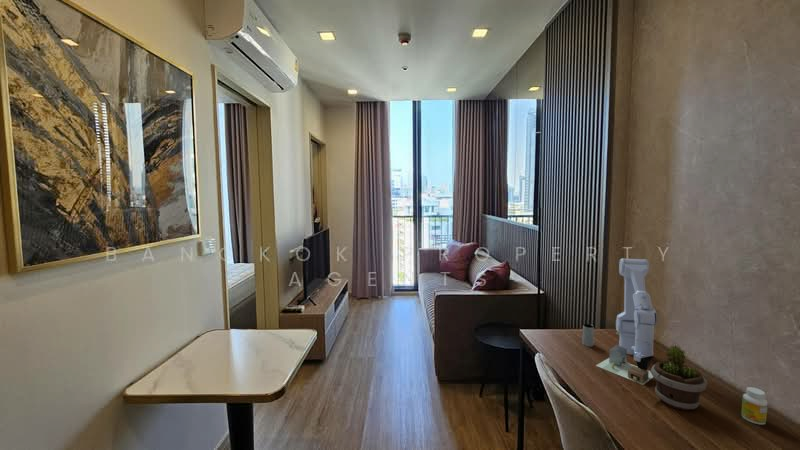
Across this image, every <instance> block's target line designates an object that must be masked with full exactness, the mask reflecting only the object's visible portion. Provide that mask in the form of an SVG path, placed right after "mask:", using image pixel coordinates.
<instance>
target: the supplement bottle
mask: <svg viewBox="0 0 800 450" xmlns="http://www.w3.org/2000/svg"><path fill="white" fill-rule="evenodd" d="M768 406H769V405H768V401H767V400H766V393H765V391H764V390H761V389H760V388H757V387H753V386H752V387H751V386H748V387H746V393H743V394H742V402H741V416H742V418H743V419H744V420H746V421H748V422H751V423H752V424H757V425H766V422H767V414H768Z"/></svg>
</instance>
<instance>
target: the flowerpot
mask: <svg viewBox="0 0 800 450" xmlns="http://www.w3.org/2000/svg"><path fill="white" fill-rule="evenodd" d="M680 347H681V346H680V345H679V344H677V343H676V342H675V343H674V344H672V345H670V346H669V347H668V348H667V353H665V356H666V357H665V361H657V362H656V363H655V364H654V365H652V366H651V369H650V371H651V374H652V376H653V378H654V380H655V384H656V385H655V387H654V390H655V391H654V393H655V394H656V396H657V397H658V398H659V401H661V402H662V403H664V404H665V405H667V406H669V407H670V408H673V409H677V410H681V411H689V410H690V411H694V410H695V409H697V408H698V407H699V405H700V404H701V403H700V402H701V398H700V396H701V394H702V392H703V391H705V390H706V389H707V385H708V381H707V379H706V378H705V377H704V375H702V372H700V371H699V370H697V369H696V367H693V365H692V364H691V365H690V364H687V363H688V361H687V360H686V359H687V358H688V356H687V353H686V351H685V350H684V349H682V348H680ZM686 364H687V365H686Z"/></svg>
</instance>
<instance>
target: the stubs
mask: <svg viewBox="0 0 800 450" xmlns="http://www.w3.org/2000/svg"><path fill="white" fill-rule="evenodd" d="M638 379H640V377H639V376H637V375H636V376H635V375H634V376H633V380H634V381H638ZM634 381H633V382H634Z"/></svg>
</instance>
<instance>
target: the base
mask: <svg viewBox="0 0 800 450" xmlns="http://www.w3.org/2000/svg"><path fill="white" fill-rule="evenodd" d="M633 366H636V367H638V366H637V365H635V364H631V363H629V362H627V361H626V363H622V364H621V366H620V367H619V366H617V365H614V363H609V357H608V358H606V359H604V360H603V361H601V362H599V363H597V364H596V365H595V367H598V368H600V369H602V370H606V371H608V372H610V373H612V374H615V375H618V376H619V377H620V376H621V377H623V378H625V379H628V380H629V381H632V382H635V383H637V384H639V385H642V386H644V385H645V384H646V383H648V382H649V381H650V380H652V379H653V378H654V377H653V376H652V374H651V370H647V371H649V376H648V379H647V380H646V381H645V382H643V383H641V382H640V379H638V381H634V380H633V377H632V378H629V377H628V369H630V368H631V367H633ZM635 376H636V375H635Z"/></svg>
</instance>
